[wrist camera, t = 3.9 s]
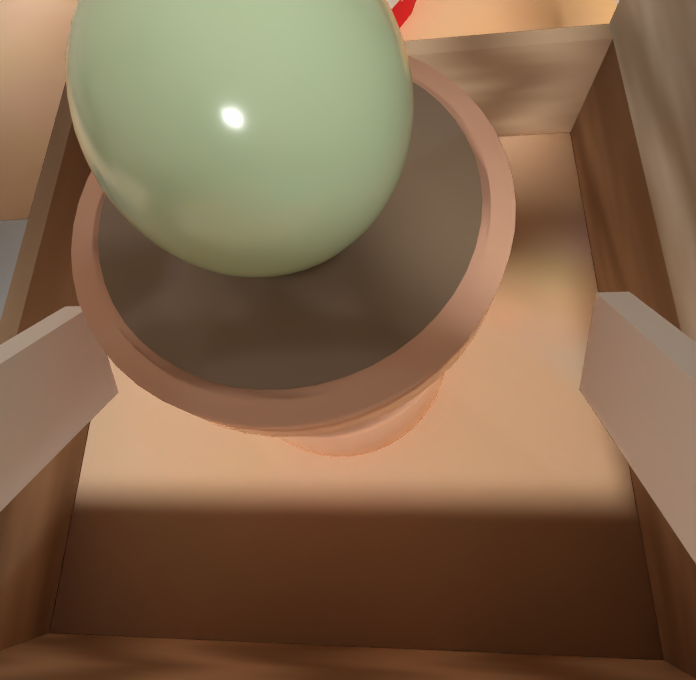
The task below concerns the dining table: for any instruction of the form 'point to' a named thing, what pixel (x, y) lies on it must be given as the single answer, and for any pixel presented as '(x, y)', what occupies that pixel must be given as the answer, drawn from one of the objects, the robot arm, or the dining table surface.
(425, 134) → the seedling pot
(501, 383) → the dining table surface
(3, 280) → the slate tile
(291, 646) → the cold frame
